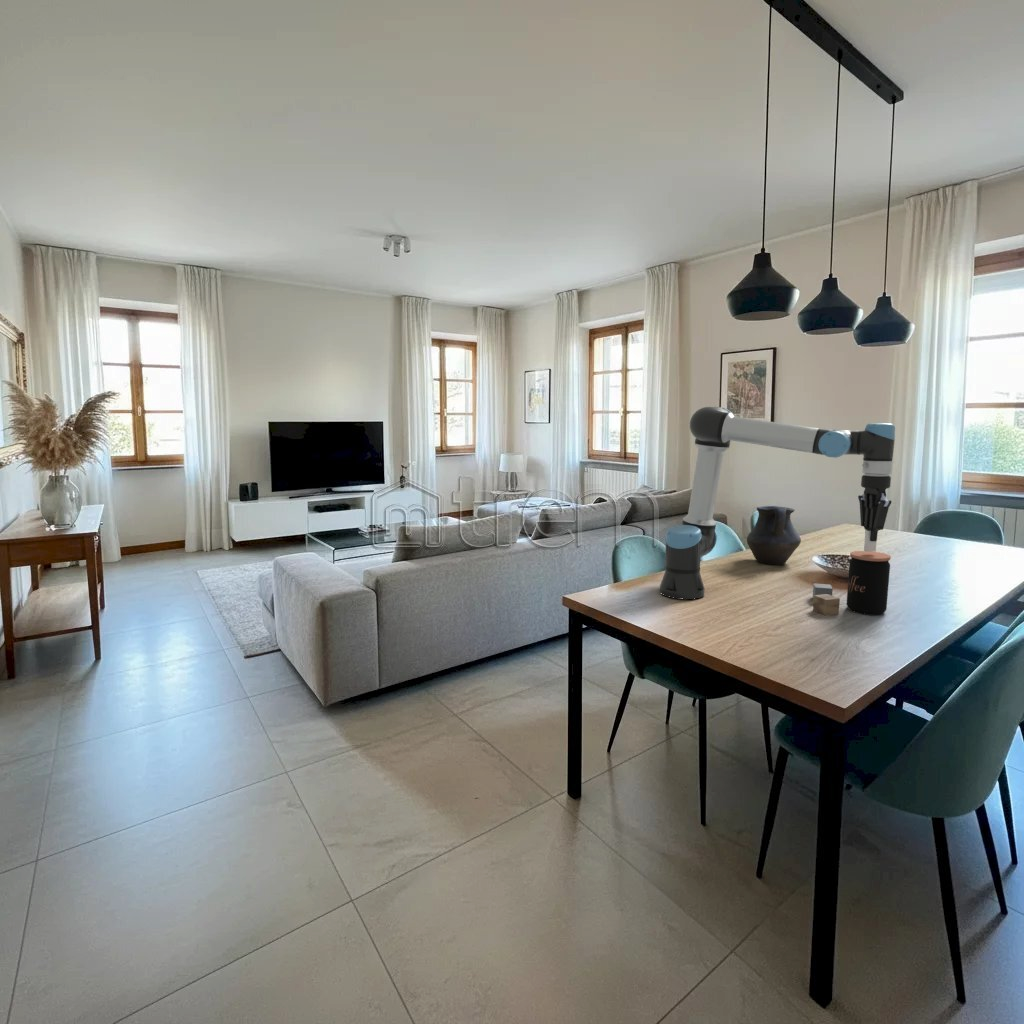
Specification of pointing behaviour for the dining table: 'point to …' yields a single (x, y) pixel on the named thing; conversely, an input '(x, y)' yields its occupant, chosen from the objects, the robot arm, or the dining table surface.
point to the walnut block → (826, 604)
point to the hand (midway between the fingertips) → (869, 550)
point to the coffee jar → (868, 582)
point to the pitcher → (773, 535)
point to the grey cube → (822, 589)
